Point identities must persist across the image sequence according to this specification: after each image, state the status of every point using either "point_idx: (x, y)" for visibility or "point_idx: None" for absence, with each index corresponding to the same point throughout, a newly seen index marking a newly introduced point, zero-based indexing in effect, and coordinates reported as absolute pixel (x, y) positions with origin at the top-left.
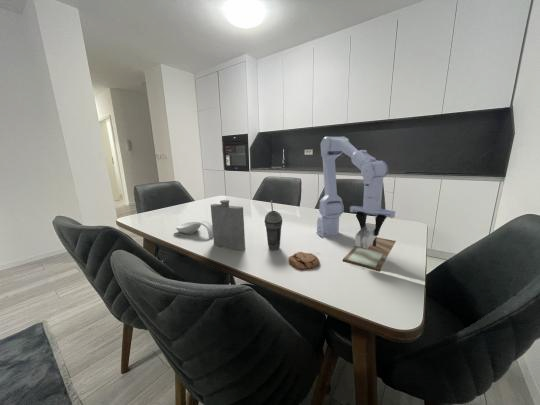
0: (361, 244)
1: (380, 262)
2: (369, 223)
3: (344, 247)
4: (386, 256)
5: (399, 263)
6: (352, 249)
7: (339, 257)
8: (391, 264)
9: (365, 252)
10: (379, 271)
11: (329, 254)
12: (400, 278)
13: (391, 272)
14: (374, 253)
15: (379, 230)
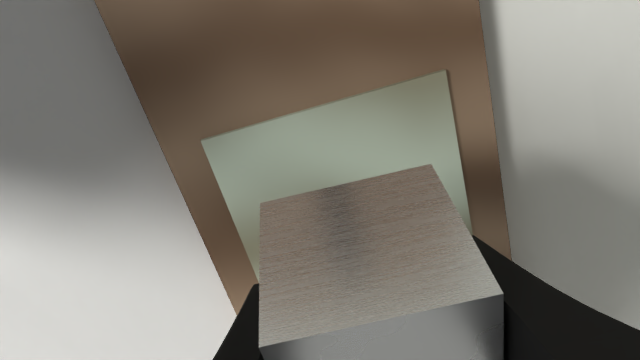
0: (152, 15)
1: (486, 238)
2: (326, 338)
3: (75, 164)
4: (484, 97)
5: (586, 82)
6: (191, 204)
7: (206, 336)
8: (538, 149)
9: (315, 180)
10: None
11: (124, 353)
12: (630, 276)
13: (569, 254)
14: (383, 136)
15: (512, 265)
